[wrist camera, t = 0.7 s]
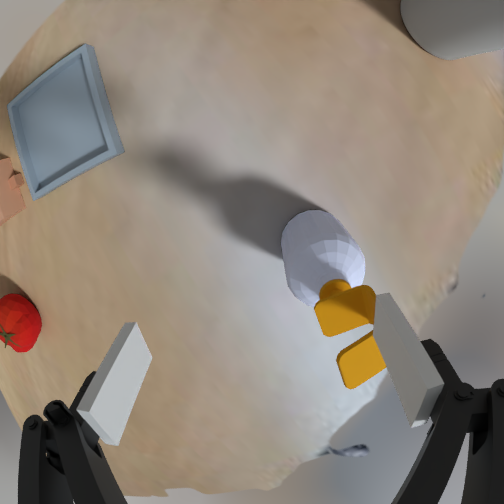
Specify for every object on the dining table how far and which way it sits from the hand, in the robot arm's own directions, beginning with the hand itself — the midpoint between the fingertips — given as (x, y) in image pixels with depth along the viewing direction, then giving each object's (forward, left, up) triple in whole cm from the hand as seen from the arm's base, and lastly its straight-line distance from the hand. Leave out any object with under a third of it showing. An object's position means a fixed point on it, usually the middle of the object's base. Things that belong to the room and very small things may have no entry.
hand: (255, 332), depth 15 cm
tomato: (+6, -52, -26) cm, 59 cm away
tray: (-22, -24, -26) cm, 42 cm away
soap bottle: (+7, +6, -26) cm, 28 cm away
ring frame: (-18, -43, -26) cm, 54 cm away
